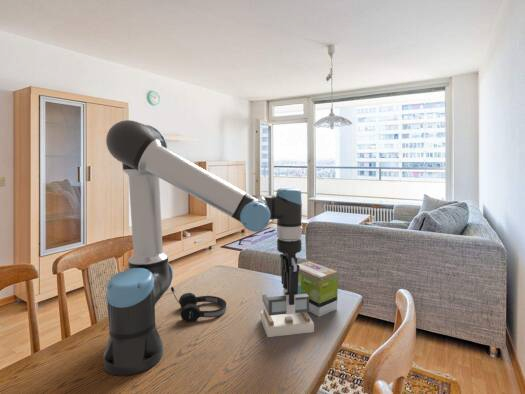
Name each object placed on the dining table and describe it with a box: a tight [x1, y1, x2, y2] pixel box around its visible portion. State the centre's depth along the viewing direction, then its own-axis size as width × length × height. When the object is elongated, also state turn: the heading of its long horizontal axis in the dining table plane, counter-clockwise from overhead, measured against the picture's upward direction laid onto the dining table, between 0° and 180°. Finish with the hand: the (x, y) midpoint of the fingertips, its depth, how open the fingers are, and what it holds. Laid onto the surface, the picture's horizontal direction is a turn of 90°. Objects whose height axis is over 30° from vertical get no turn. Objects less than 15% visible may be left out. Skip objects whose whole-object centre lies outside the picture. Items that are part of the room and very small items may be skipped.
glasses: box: [262, 292, 310, 316], centre depth 102 cm, size 11×13×5 cm
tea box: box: [297, 260, 339, 318], centre depth 114 cm, size 15×10×15 cm
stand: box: [260, 307, 315, 338], centre depth 101 cm, size 11×15×4 cm
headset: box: [170, 286, 227, 323], centre depth 111 cm, size 14×10×20 cm
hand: (289, 310), depth 98 cm, fingers closed on glasses, 2 cm apart
